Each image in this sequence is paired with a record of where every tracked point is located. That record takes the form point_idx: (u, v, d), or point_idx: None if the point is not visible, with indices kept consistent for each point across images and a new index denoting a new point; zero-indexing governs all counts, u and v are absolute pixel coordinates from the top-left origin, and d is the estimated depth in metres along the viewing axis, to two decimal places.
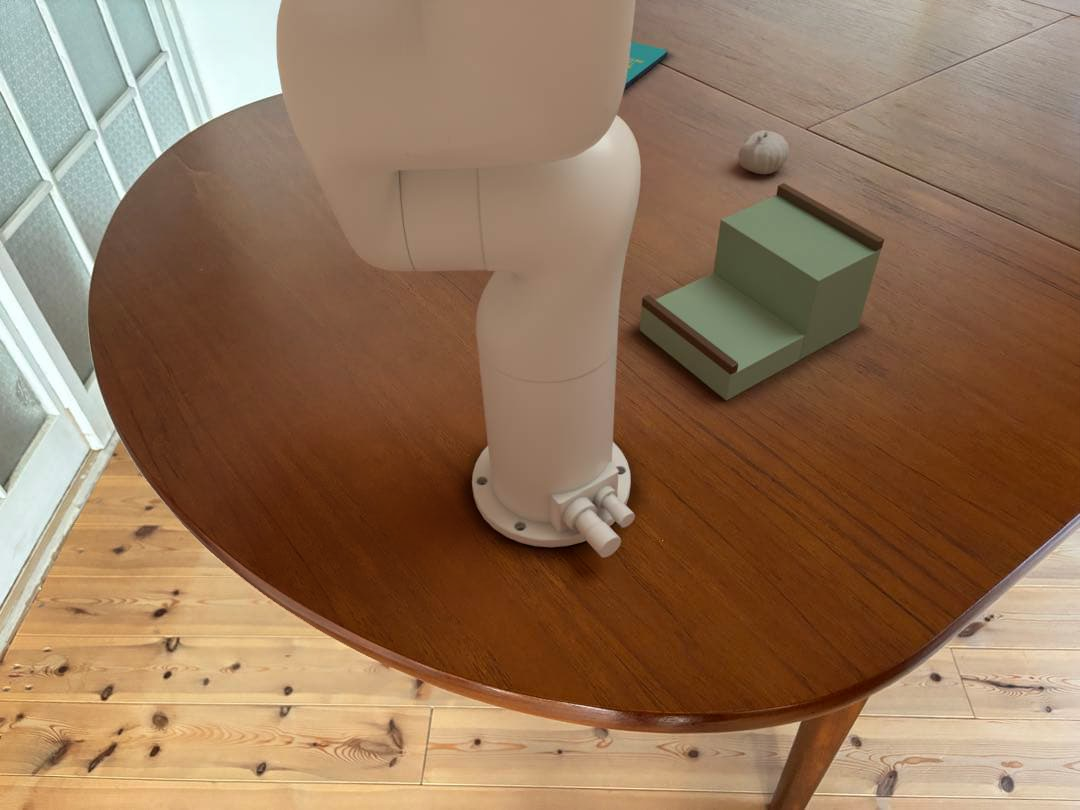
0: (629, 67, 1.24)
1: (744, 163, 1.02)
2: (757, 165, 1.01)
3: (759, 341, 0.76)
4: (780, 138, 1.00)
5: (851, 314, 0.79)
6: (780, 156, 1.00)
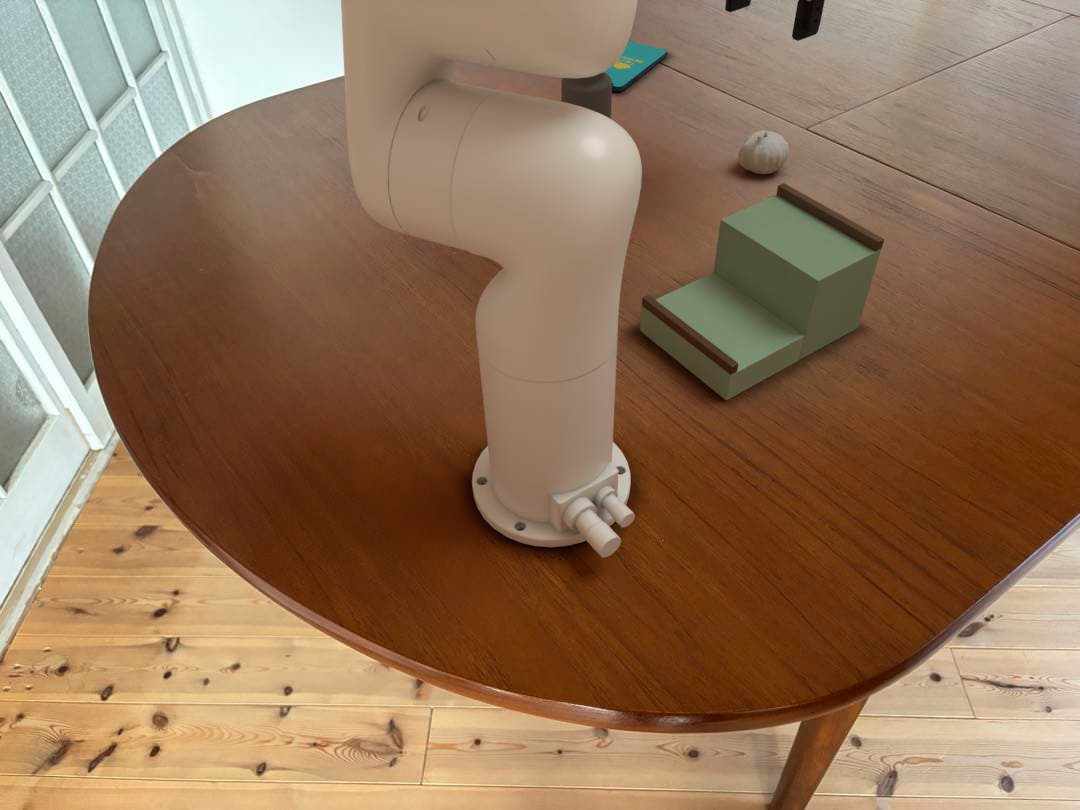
0: (629, 67, 1.24)
1: (744, 163, 1.02)
2: (757, 165, 1.01)
3: (759, 341, 0.76)
4: (780, 138, 1.00)
5: (851, 314, 0.79)
6: (780, 156, 1.00)
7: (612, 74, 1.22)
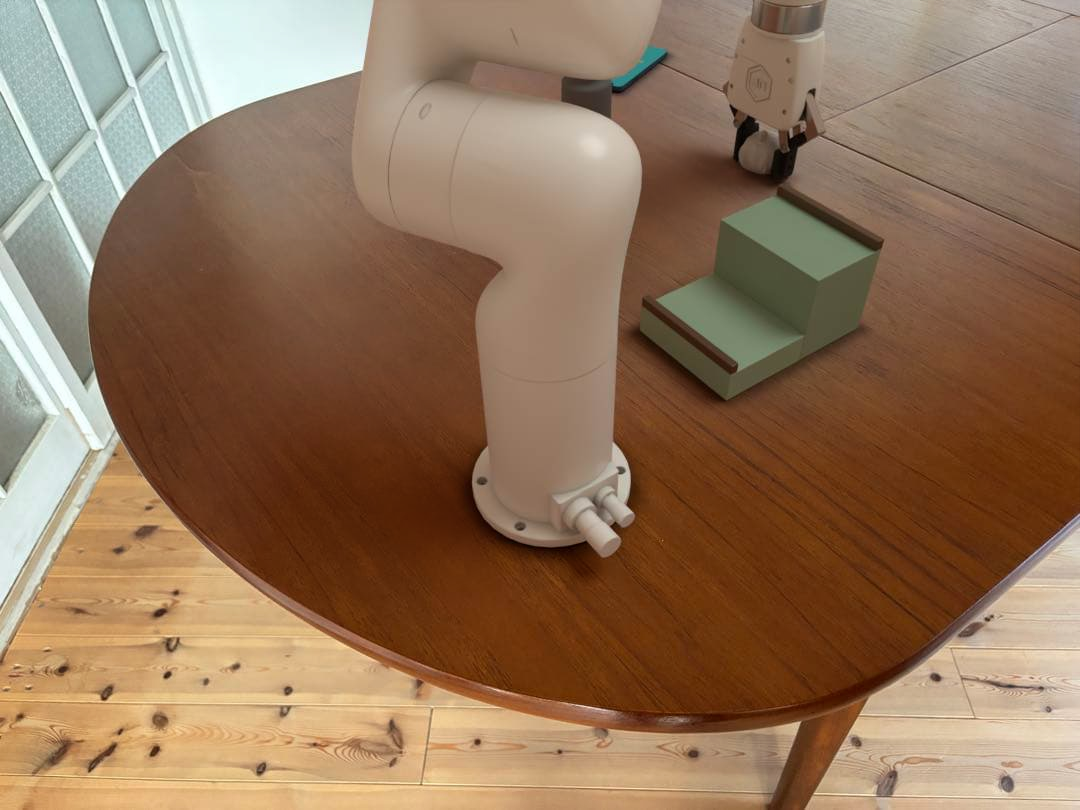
0: None
1: (744, 163, 1.02)
2: (758, 165, 1.01)
3: (759, 341, 0.76)
4: None
5: (851, 314, 0.79)
6: None
7: None
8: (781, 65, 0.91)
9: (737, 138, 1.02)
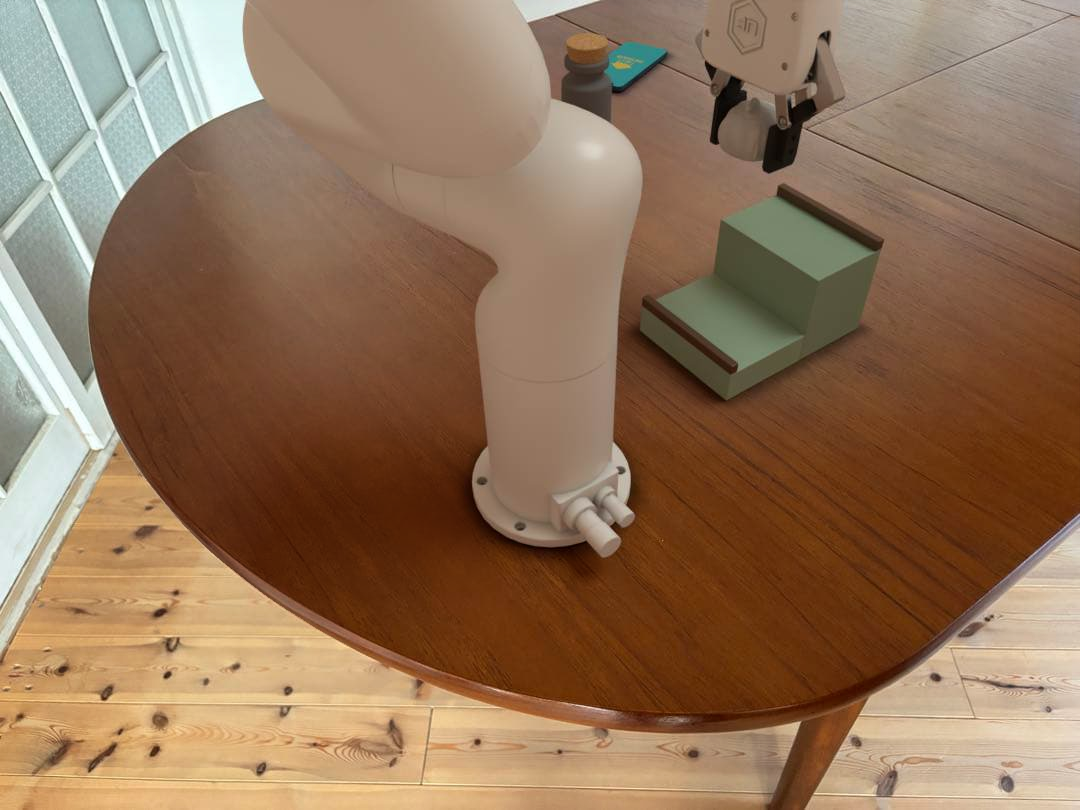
0: (629, 67, 1.24)
1: (726, 146, 0.71)
2: (745, 148, 0.70)
3: (759, 341, 0.76)
4: None
5: (851, 314, 0.79)
6: None
7: (612, 74, 1.22)
8: None
9: (716, 111, 0.72)
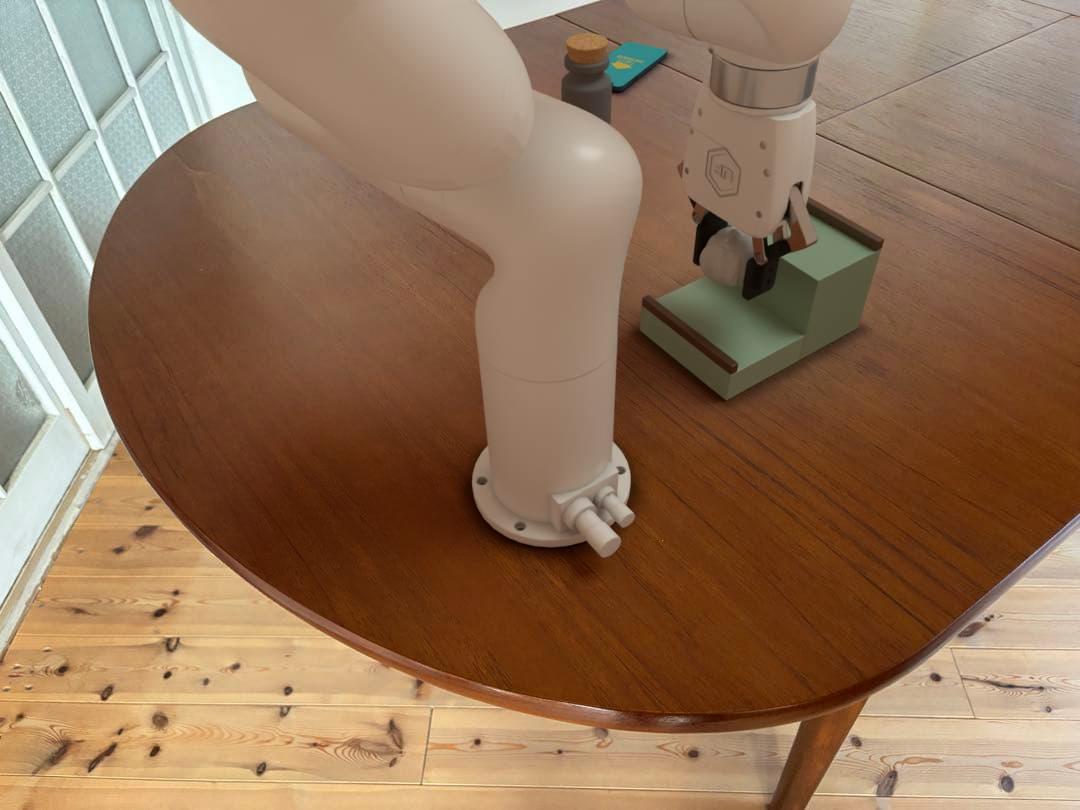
0: (629, 67, 1.24)
1: (708, 272, 0.74)
2: (725, 277, 0.73)
3: (759, 341, 0.76)
4: None
5: (851, 314, 0.79)
6: None
7: (612, 74, 1.22)
8: (753, 151, 0.63)
9: (697, 237, 0.75)
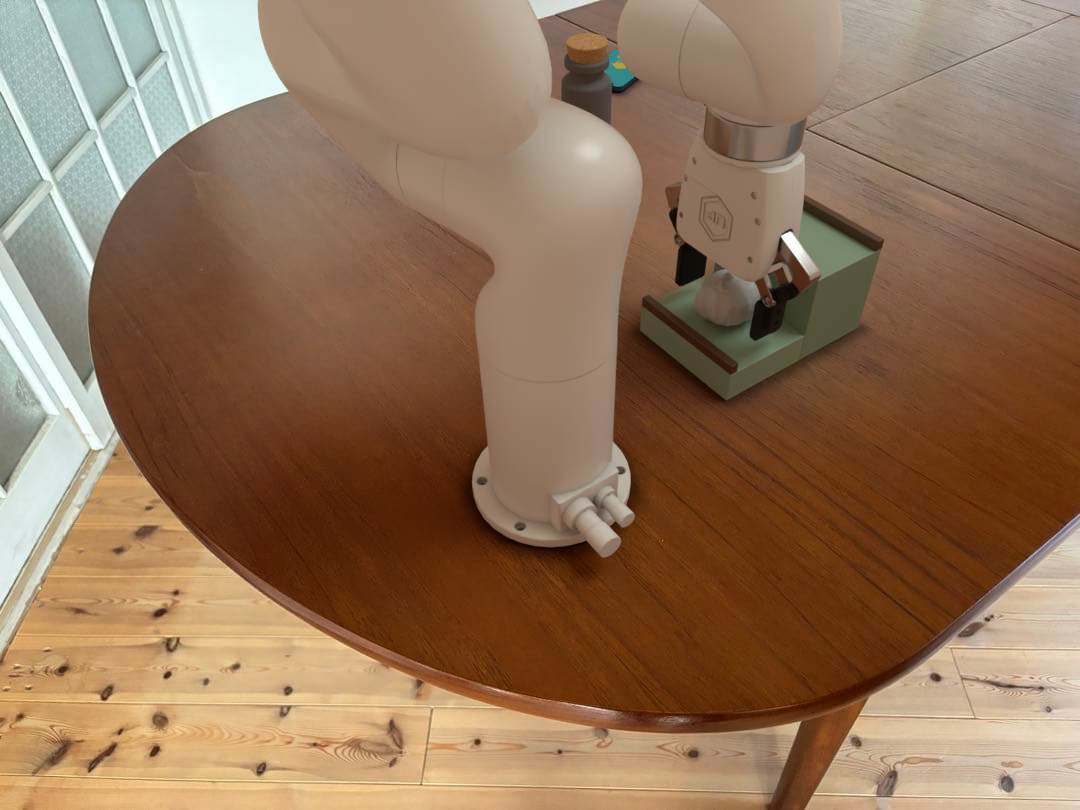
0: None
1: (702, 313, 0.77)
2: (719, 318, 0.76)
3: (759, 341, 0.76)
4: (749, 282, 0.76)
5: (851, 314, 0.79)
6: (748, 307, 0.75)
7: (612, 74, 1.22)
8: (744, 200, 0.66)
9: (679, 259, 0.78)
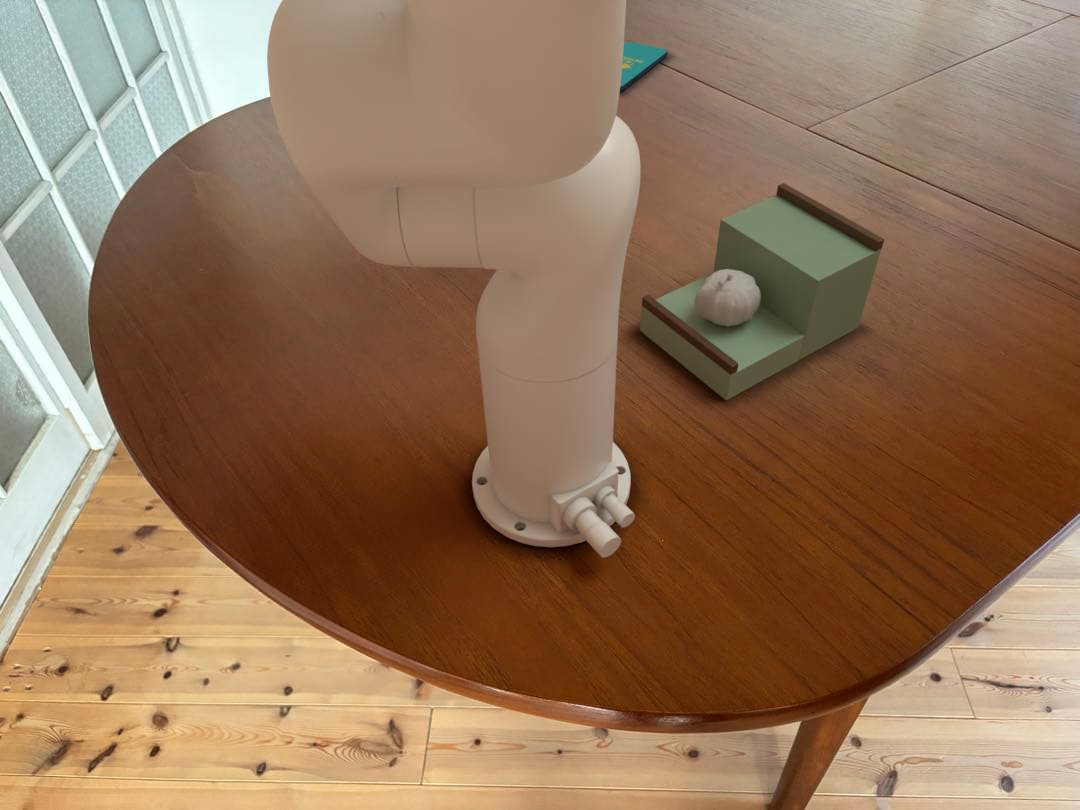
0: (629, 67, 1.24)
1: (702, 313, 0.77)
2: (719, 318, 0.76)
3: (759, 341, 0.76)
4: (749, 282, 0.76)
5: (851, 314, 0.79)
6: (748, 307, 0.75)
7: None
8: None
9: None
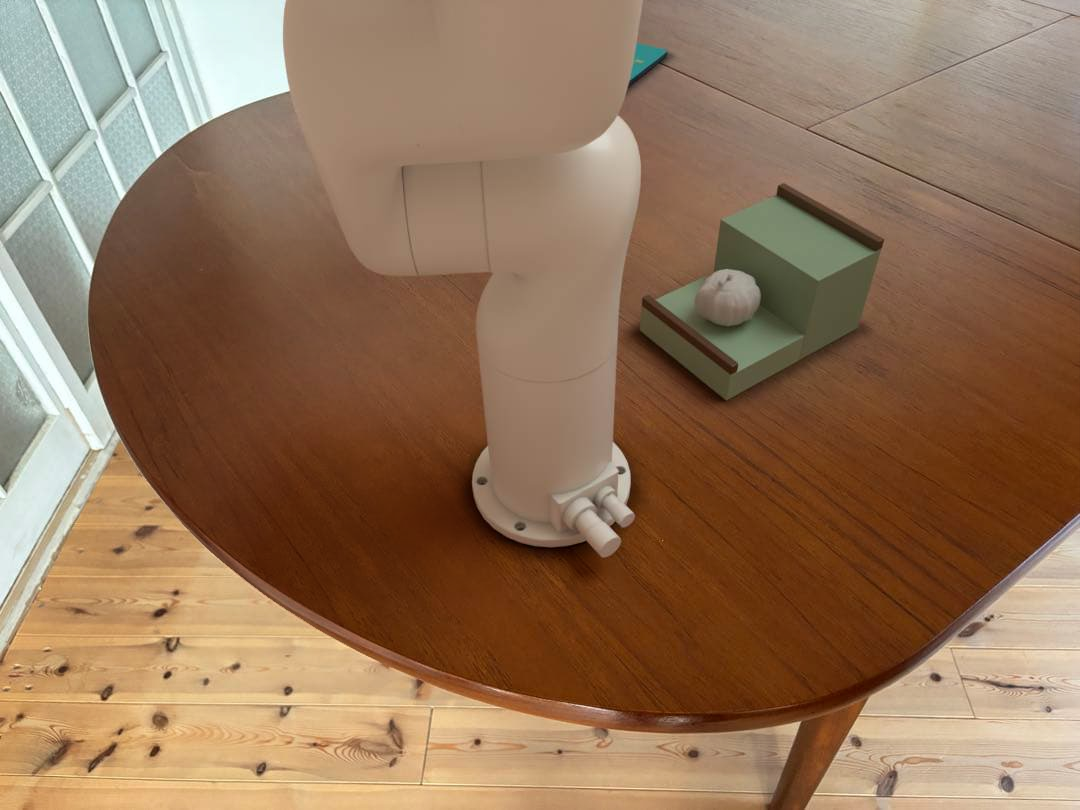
0: None
1: (702, 313, 0.77)
2: (719, 318, 0.76)
3: (759, 341, 0.76)
4: (749, 282, 0.76)
5: (851, 314, 0.79)
6: (748, 307, 0.75)
7: None
8: None
9: None
